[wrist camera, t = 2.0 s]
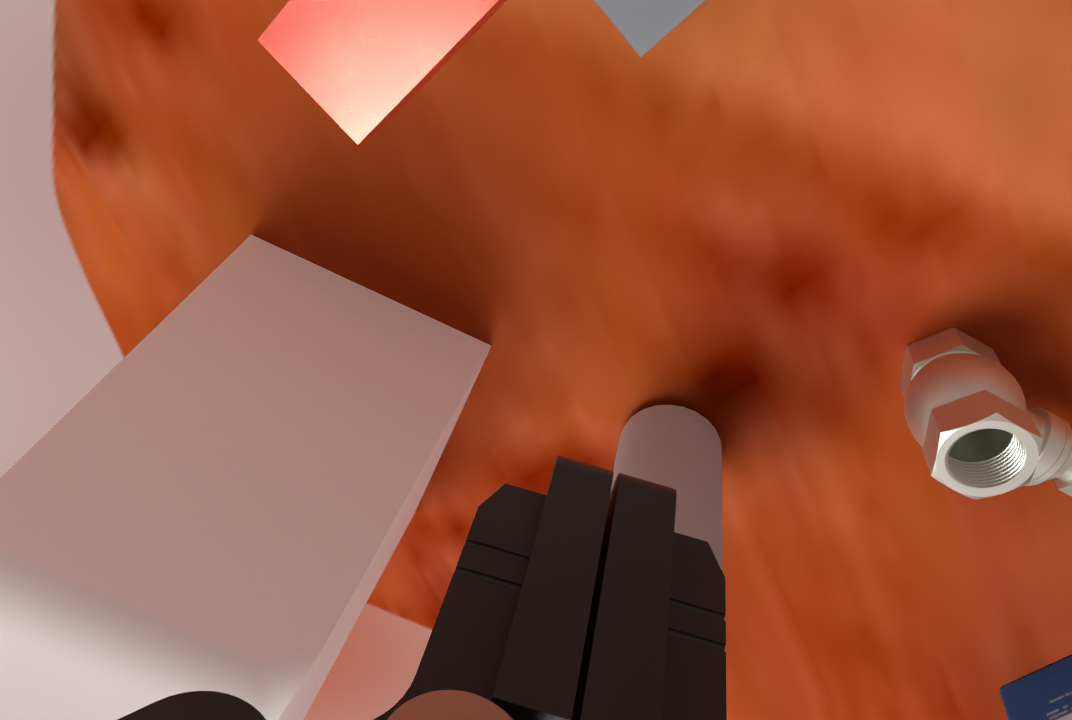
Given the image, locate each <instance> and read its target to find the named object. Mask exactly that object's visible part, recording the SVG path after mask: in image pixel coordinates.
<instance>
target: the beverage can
mask: <svg viewBox="0 0 1072 720" xmlns="http://www.w3.org/2000/svg"><path fill="white" fill-rule="evenodd" d="M613 472H614V474H613V481H612V487H611V491H612V488H613V485H614V482H615V480H616V477H617V475H618V473H622V474H625V475H629V476H632V477H636V478H639V479H643V480H646V481H650V482H653V483H657V484H660V485H664V486H667V487H671V488H674V489H676V493H677V499H676V514H675V529H674V532H676V533H679V534H683V535H686V536H690V537H693V538H697V539H700V540H704V541H707V542H708V543H709V545H710V547H711V549H712V551H713V553H714V555H715V557H716V560H717V562H718V564H719V566H720V568H721V570H722V447H721V440H720V438H719V435H718V433H717V431H716V429H715V428H714V427H713V425H712V424H711V423H710V422H709V421H708V420H707V419H706V418H705V417H703V416H702V415H700V414H699V413H697V412H696V411H693V410H691V409H688V408H686V407H683V406H676V405H670V404H669V405H655V406H652V407H649V408H645V409H643V410H641V411H639V412H638V413H636V414H635V415H633V416H632V417H631V418H630V419H629V421H628V422H627V423H626V424H625V425H624V428H623V430H622V432H621V434H620V437H619V443H618V448H617V454H616V460H615V466H614V471H613ZM610 494H611V493H610Z"/></svg>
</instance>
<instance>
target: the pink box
mask: <svg viewBox="0 0 1072 720" xmlns="http://www.w3.org/2000/svg"><path fill="white" fill-rule="evenodd" d="M505 1H506V0H290V1H289V2H288V3H287V4H286V5H285V7H284V8H283V9H282V10H281V12H280V13H279V14H278V15H277V17H276V18H275V19H274V20H273V21H272V23H271V24H270V25H269V26H268V28H267V29H266V30H265V31H264V32H263V34H262V35H261V36H260V37H259V39H258V41H259V42H260V43H261V44H262V45H263V46H264V47H265V48H266V49H267V50H268V51H269V52H270V54H271V55H272V56H273V57H274V58H275V59H276V60H277V61H278V62H279V63H280V64H281V65H282V66H283V67H284V68H285V69H286V70H287V71H288V72H289V73H290V74H291V76H292V77H293V78H294V79H295V80H296V81H297V82H298V83H299V84H300V85H301V86H302V87H303V88H304V89H305V90H306V91H307V92H308V93H309V94H310V95H311V96H312V97H313V99H314V100H315V101H316V102H317V103H318V104H319V105H320V106H321V107H322V108H323V109H324V110H325V111H326V112H327V113H328V114H329V115H330V116H331V117H332V118H333V119H334V121H335V122H336V123H337V124H338V125H339V126H340V127H341V128H342V129H343V130H344V131H345V132H346V133H347V134H348V135H349V136H350V137H351V138H352V139H353V140H354V141H355V143H356V144H357V145H358V144H360V143H361V142H362V141H363V140H365V139H366V138H367V137H369V136H370V135H371V134H372V133H374V132H375V131H376V130H378V129H379V128H380V127H381V126H383V125H384V124H385V123H387V122H388V121H389V120H390V119H391V118H392V117H393V116H394V115H395V114H396V113H397V112H398V111H399V110H400V109H401V108H402V107H403V106H404V105H405V103H406V102H407V101H408V100H409V99H410V98H411V97H412V96H413V95H414V94H415V93H416V92H417V91H418V90H419V89H420V88H421V87H422V86H423V85H424V84H425V83H426V82H427V81H428V80H429V79H430V78H431V77H432V76H433V75H434V74H435V73H436V72H437V71H438V70H439V69H440V68H441V67H442V66H443V65H444V64H445V63H446V62H447V61H448V60H449V59H450V58H451V57H452V56H453V54H454V53H455V52H456V51H457V50H458V49H459V48H460V47H461V46H462V45H463V44H464V43H465V42H466V41H467V40H468V39H469V38H470V37H471V36H472V35H473V34H474V33H475V32H476V31H477V30H478V29H479V28H480V27H481V26H482V25H483V24H484V23H485V22H486V21H487V20H488V19H489V18H490V17H491V16H492V15H493V14H494V13H495V12H496V11H497V10H498V9H499V8H500V7H501V5H502V4H503V3H504V2H505Z"/></svg>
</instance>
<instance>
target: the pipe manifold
mask: <svg viewBox="0 0 1072 720" xmlns="http://www.w3.org/2000/svg"><path fill="white" fill-rule="evenodd" d="M704 1H705V0H595V2H596V3H597V4H598V5H599V7H600V8H601V9H602V10H603V12H604V13H605V14H606V15H607V16H608V18H609V19H610V20H611V21H612V23H613V24H614V25H615V26H616V28H617V29H618V30H619V31H620V32H621V34H622V35H623V36H624V37H625V39H626V40H627V41H628V42H629V44H630V45H631V46H632V47H633V49H634V50H635V51H636V52H637V53H638V55H639V56H640V57H642V56H643V55H644V54H645V53H646V52H647V51H648V50H649V49H651V48H652V47H653V46H654V45H655V44H656V43H657V42H659V41H660V40H661V39H662V38H663V37H664V36H665V35H666V34H668V33H669V32H670V31H671V30H672V29H673V28H674V27H675V26H677V25H678V24H679V23H680V22H681V21H682V20H683V19H685V18H686V17H687V16H688V15H689V14H690V13H691V12H692V11H694V10H695V9H696V8H697V7H698V6H699V5H700V4H702V3H703V2H704Z"/></svg>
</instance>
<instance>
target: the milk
mask: <svg viewBox="0 0 1072 720" xmlns="http://www.w3.org/2000/svg"><path fill="white" fill-rule="evenodd" d="M490 348H491V345H489V344H487V343H485V342H482V341H480V340H478V339H476V338H474V337H472V336H469V335H467V334H465V333H463V332H461V331H459V330H456V329H454V328H452V327H450V326H448V325H446V324H444V323H441V322H439V321H437V320H435V319H433V318H431V317H428V316H426V315H424V314H422V313H420V312H418V311H415V310H413V309H411V308H409V307H407V306H405V305H402V304H400V303H398V302H396V301H394V300H392V299H389V298H387V297H385V296H383V295H381V294H379V293H376V292H374V291H372V290H370V289H368V288H366V287H364V286H361V285H359V284H357V283H355V282H353V281H351V280H348V279H346V278H344V277H342V276H340V275H338V274H335V273H333V272H331V271H329V270H327V269H325V268H322V267H320V266H318V265H316V264H314V263H312V262H309V261H307V260H305V259H303V258H301V257H299V256H297V255H294V254H292V253H290V252H288V251H286V250H284V249H281V248H279V247H277V246H275V245H273V244H271V243H268V242H266V241H264V240H262V239H260V238H258V237H255V236H253V235H250V236H249V237H248V238H247V239H246V240H245V241H244V242H243V243H242V244H241V245H240V246H239V247H238V248H237V249H236V250H235V251H234V252H233V253H232V254H231V255H229V256H228V257H227V258H226V259H225V260H224V261H223V262H222V263H221V264H220V265H219V266H218V267H217V268H216V269H215V270H214V271H213V272H212V273H211V274H210V275H209V276H208V277H207V278H206V279H205V280H204V281H203V282H202V283H201V284H200V285H199V286H198V287H197V288H196V289H195V290H194V291H193V292H191V293H190V294H189V295H188V296H187V297H186V298H185V299H184V300H183V301H182V302H181V303H180V304H179V305H178V306H177V307H176V308H175V309H174V310H173V311H172V312H171V313H170V314H169V315H168V316H167V317H166V318H165V319H164V320H163V321H162V322H161V323H160V324H159V325H158V326H157V327H156V328H155V329H153V330H152V331H151V332H150V333H149V334H148V335H147V336H146V337H145V338H144V339H143V340H142V341H141V342H140V343H139V344H138V345H137V346H136V347H135V348H134V349H133V350H132V351H131V352H130V353H129V354H128V355H127V356H126V357H125V358H124V359H123V360H122V361H121V362H120V363H119V364H118V365H117V366H115V367H114V368H113V369H112V370H111V371H110V373H108V374H107V375H106V376H105V377H104V378H103V379H102V380H101V381H100V382H99V383H98V384H97V385H96V386H95V387H94V388H93V389H92V390H91V391H90V392H89V393H88V394H87V395H86V396H85V397H84V398H83V399H82V400H81V401H80V402H79V403H78V404H76V405H75V407H74V408H72V409H71V410H70V411H69V412H68V413H67V414H66V415H65V416H64V417H63V418H62V419H61V420H60V421H59V422H58V423H57V424H56V425H55V426H54V427H53V428H52V429H51V430H50V431H49V432H48V433H47V434H46V435H45V436H44V437H43V438H42V439H41V440H40V441H39V442H37V444H35V445H34V446H33V447H32V448H31V449H30V450H29V451H28V452H27V453H26V454H25V455H24V456H23V457H22V458H21V459H20V460H19V461H18V462H17V463H16V464H15V465H14V466H13V467H12V468H11V469H10V470H9V471H8V472H7V473H6V474H5V475H4V476H3V477H2V478H1V479H0V720H118V719H120V718H122V717H124V716H126V715H128V714H130V713H132V712H135V711H137V710H139V709H141V708H143V707H145V706H147V705H149V704H152V703H154V702H156V701H158V700H161V699H163V698H166V697H169V696H172V695H176V694H180V693H184V692H192V691H216V692H221V693H227V694H230V695H233V696H235V697H238V698H241V699H242V700H244V701H246V702H248V703H249V704H251V705H252V706H253V707H255V708H256V709H257V710H258V711H259V712H260V713H261V714H262V715H263V716H264V718H265V719H266V720H303V719H304V717H305V716H306V714H307V712H308V710H309V708H310V706H311V704H312V703H313V701H314V699H315V697H316V695H317V693H318V691H319V690H320V688H321V686H322V684H323V682H324V680H325V678H326V677H327V675H328V673H329V671H330V669H331V667H332V665H333V664H334V662H335V660H336V658H337V656H338V654H339V653H340V651H341V648H342V647H343V645H344V643H345V641H346V639H347V638H348V636H349V634H350V632H351V630H352V628H353V626H354V625H355V623H356V621H357V619H358V617H359V615H360V614H361V612H362V610H363V608H364V606H365V604H366V602H367V601H368V599H369V597H370V595H371V593H372V591H373V589H374V588H375V586H376V584H377V582H378V580H379V578H380V576H381V575H382V573H383V571H384V569H385V567H386V565H387V563H388V562H389V560H390V558H391V556H392V554H393V552H394V550H395V549H396V547H397V545H398V543H399V541H400V539H401V537H402V536H403V534H404V532H405V530H406V528H407V526H408V524H409V523H410V521H411V519H412V517H413V515H414V513H415V511H416V509H417V507H418V505H419V503H420V501H421V498H422V496H423V494H424V492H425V490H426V488H427V485H428V483H429V481H430V479H431V477H432V474H433V472H434V470H435V468H436V466H437V464H438V461H439V459H440V457H441V455H442V453H443V451H444V448H445V446H446V444H447V442H448V440H449V437H450V435H451V433H452V431H453V429H454V427H455V424H456V422H457V420H458V418H459V416H460V414H461V411H462V409H463V407H464V405H465V403H466V400H467V398H468V396H469V394H470V392H471V390H472V387H473V385H474V383H475V381H476V379H477V377H478V374H479V372H480V370H481V368H482V366H483V364H484V361H485V359H486V357H487V355H488V353H489V350H490Z"/></svg>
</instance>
